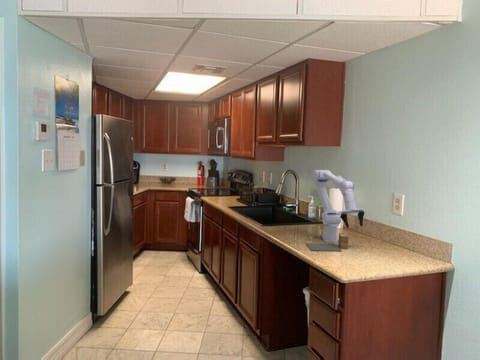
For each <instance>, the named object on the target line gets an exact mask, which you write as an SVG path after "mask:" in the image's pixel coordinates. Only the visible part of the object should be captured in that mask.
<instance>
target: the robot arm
mask: <svg viewBox="0 0 480 360" xmlns="http://www.w3.org/2000/svg"><path fill="white" fill-rule="evenodd" d="M311 177H312V181H313V184H314V185H315V188H316V192H317V195H318V198H319V200H320V203H321V206H322V209H323V212H322V214H321V222H322V223H323V225H324V227H323V234H322V235H323V236H322V237H321V239H322V240H323V241H324V242H326V243H327V242H329V243H334V242H335V243H339V239H338V227H339V226H340V224H341V221H343V223H344V225H345V227H346V229H348V228H349V222H348V215H353V214H357V217H358V221H359V222H358V223H359V226H360V227H363V226H364V225H363V224H364V216H365V213H366V209H365V208H357V205H356V199H355V194H354V189H355V183H354V182H353V181H352V180H347V179H346V178H343V176H342V175H334V174H333V173H332V172H331V170H329V169H314V170H313V171H312V175H311ZM330 181H331V182H332V184H333V185H334V186H335V187H337V188H339V191H340V193H341V195H342V198H343V203H344V208H345V209H344V210H339V211H338V210H336V209H334V208H333V205H332V203H331V199H330V197H329V195H328V191H327V188H326V185H328V183H329V182H330Z"/></svg>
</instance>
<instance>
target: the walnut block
mask: <svg viewBox="0 0 480 360" xmlns="http://www.w3.org/2000/svg"><path fill="white" fill-rule="evenodd" d="M349 236H350V235H349V233H345V232H339V233H338V241H339V242H338V246H337V247H338V248H339V249H340V250H349Z"/></svg>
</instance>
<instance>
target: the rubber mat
mask: <svg viewBox="0 0 480 360" xmlns="http://www.w3.org/2000/svg"><path fill="white" fill-rule="evenodd" d="M305 245H306V247H308V248H309V250H310V251H311V252H335V253H336V252H337V253H338V252H342V249H340V248H339V247H338V246H337V245H336V244H335V243H319V242H318V243H313V242H309V243H307V242H306V243H305Z"/></svg>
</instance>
